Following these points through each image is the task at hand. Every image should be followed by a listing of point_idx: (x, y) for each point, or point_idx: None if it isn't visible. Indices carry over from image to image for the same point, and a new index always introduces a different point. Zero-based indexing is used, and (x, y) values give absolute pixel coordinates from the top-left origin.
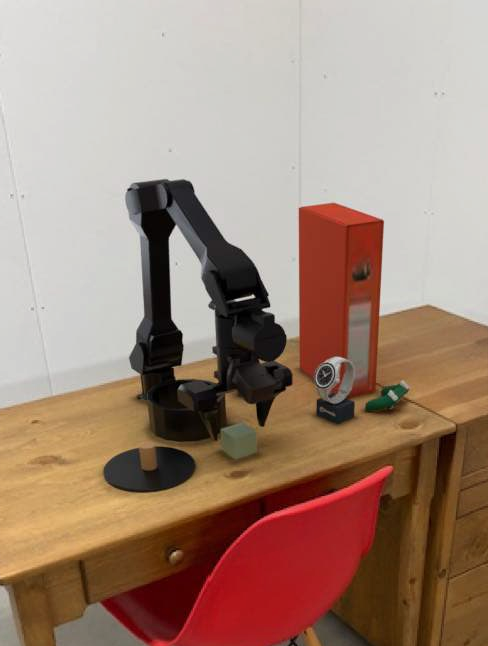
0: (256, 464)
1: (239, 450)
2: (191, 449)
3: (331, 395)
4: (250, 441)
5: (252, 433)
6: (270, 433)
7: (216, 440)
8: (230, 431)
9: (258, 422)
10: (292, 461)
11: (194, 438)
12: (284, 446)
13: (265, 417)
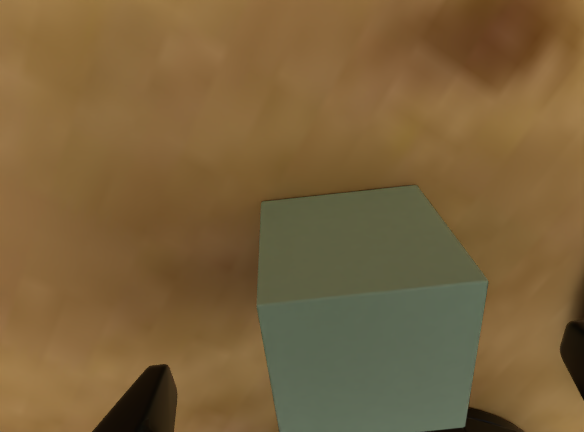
0: (322, 99)
1: (403, 221)
2: (500, 376)
3: None
4: (315, 255)
5: (300, 296)
6: (97, 364)
7: (581, 322)
8: (433, 379)
9: (174, 412)
10: (69, 6)
11: (471, 430)
12: (64, 222)
13: (112, 430)
